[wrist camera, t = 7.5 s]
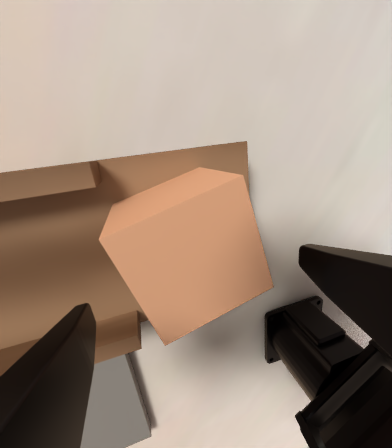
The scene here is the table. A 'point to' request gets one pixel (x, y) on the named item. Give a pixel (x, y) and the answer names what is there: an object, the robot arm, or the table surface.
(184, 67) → the table surface
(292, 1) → the table surface
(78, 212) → the divided wooden tray
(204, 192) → the block
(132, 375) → the mat
